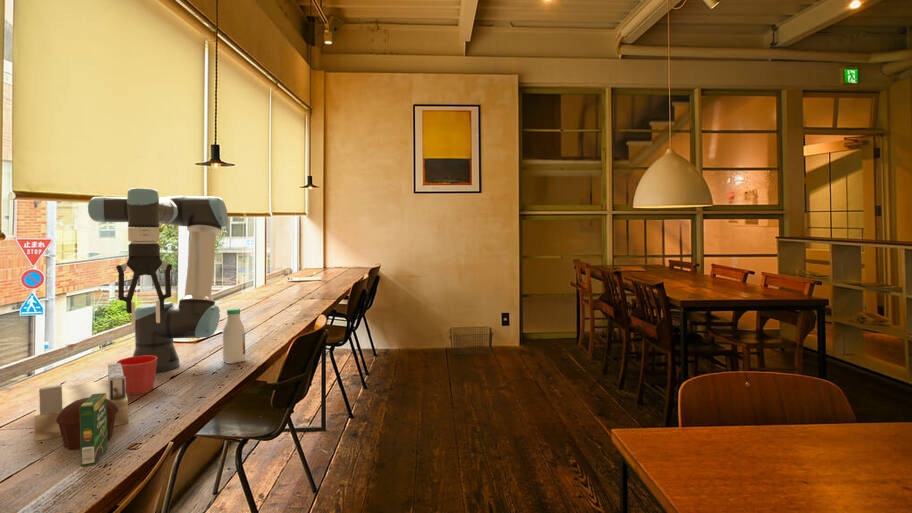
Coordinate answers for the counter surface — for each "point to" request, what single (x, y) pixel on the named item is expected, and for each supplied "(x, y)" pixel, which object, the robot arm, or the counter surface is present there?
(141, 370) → the flower pot
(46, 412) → the block
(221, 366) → the counter surface
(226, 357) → the milk bottle
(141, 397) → the counter surface
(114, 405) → the muffin
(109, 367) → the folding leg
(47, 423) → the stool seat
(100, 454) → the coffee box
